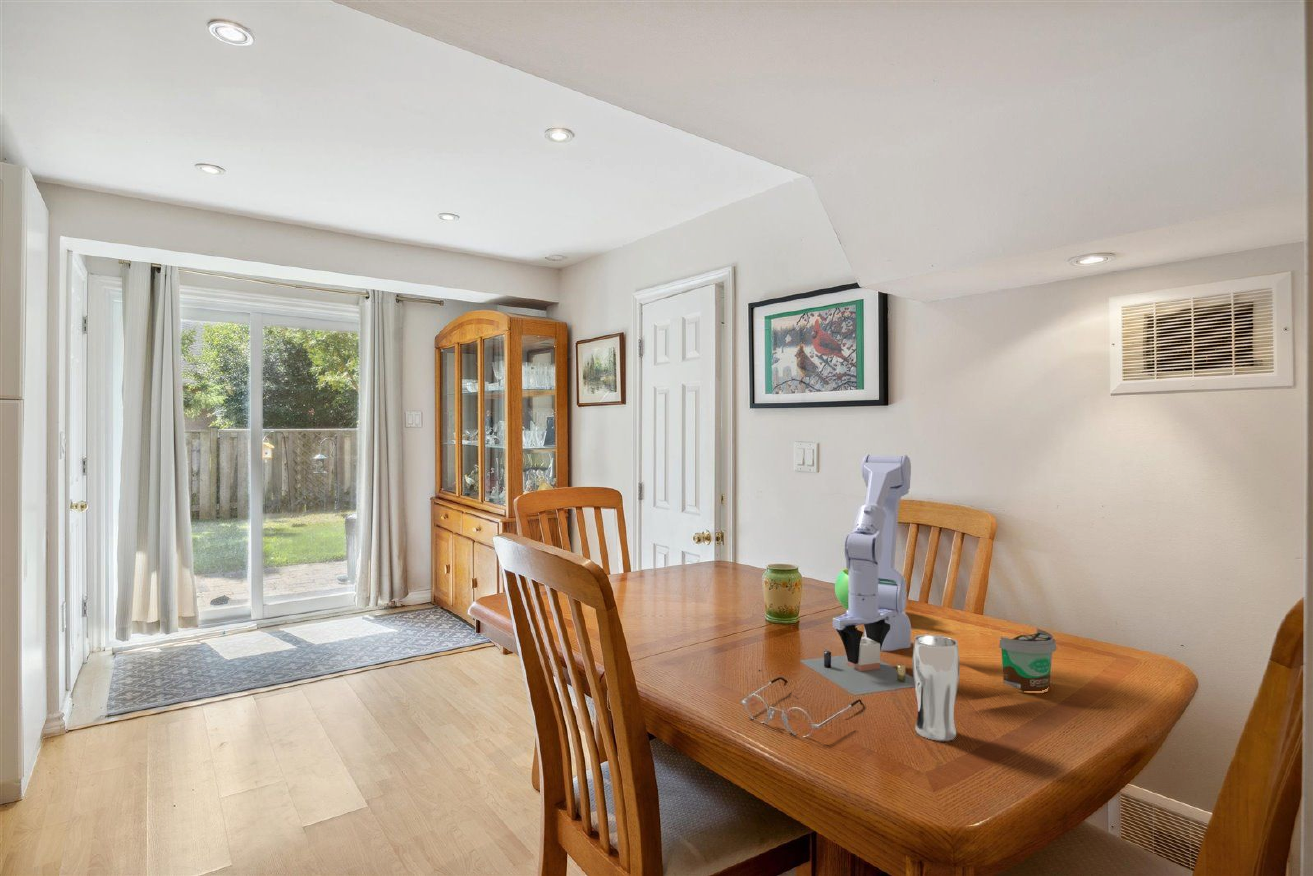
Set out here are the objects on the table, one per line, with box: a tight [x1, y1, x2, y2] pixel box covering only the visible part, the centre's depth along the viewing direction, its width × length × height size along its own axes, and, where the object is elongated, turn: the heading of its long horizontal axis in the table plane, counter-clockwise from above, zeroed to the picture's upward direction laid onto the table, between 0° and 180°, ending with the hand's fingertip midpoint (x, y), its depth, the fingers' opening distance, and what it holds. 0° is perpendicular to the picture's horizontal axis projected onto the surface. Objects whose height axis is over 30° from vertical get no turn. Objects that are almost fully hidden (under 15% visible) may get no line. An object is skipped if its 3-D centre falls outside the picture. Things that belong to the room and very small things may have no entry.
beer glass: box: [911, 633, 960, 742], centre depth 105 cm, size 7×7×15 cm
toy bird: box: [834, 567, 908, 610], centre depth 174 cm, size 18×17×15 cm
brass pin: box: [896, 663, 906, 682], centre depth 123 cm, size 1×1×3 cm
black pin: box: [823, 650, 832, 668], centre depth 131 cm, size 1×1×3 cm
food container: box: [998, 628, 1057, 692], centre depth 123 cm, size 12×6×10 cm, turn 117°
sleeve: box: [847, 636, 881, 671], centre depth 131 cm, size 5×5×5 cm
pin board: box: [798, 654, 915, 696], centre depth 128 cm, size 16×19×2 cm
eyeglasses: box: [741, 676, 862, 738], centre depth 112 cm, size 16×19×5 cm
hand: (863, 660), depth 131 cm, fingers closed on sleeve, 5 cm apart
